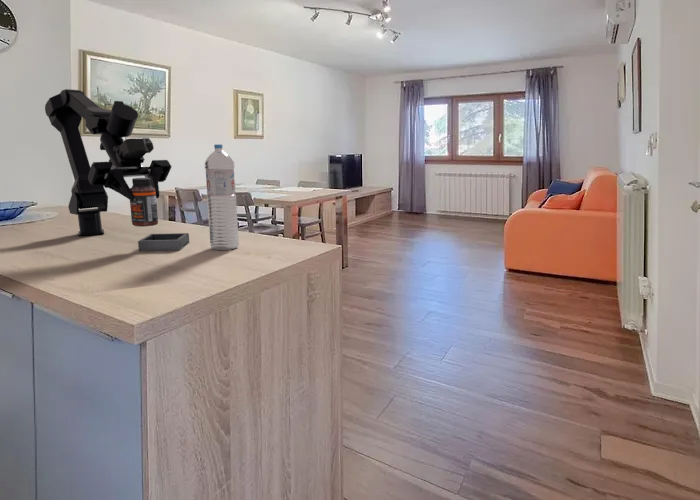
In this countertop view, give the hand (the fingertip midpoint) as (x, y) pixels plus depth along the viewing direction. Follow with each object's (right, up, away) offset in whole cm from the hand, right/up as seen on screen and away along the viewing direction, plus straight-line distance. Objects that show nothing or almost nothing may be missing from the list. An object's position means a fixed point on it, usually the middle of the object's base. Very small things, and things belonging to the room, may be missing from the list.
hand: (145, 198), depth 115 cm
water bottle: (+18, -12, +4) cm, 22 cm away
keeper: (+2, -12, +6) cm, 13 cm away
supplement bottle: (-1, -6, +2) cm, 7 cm away
